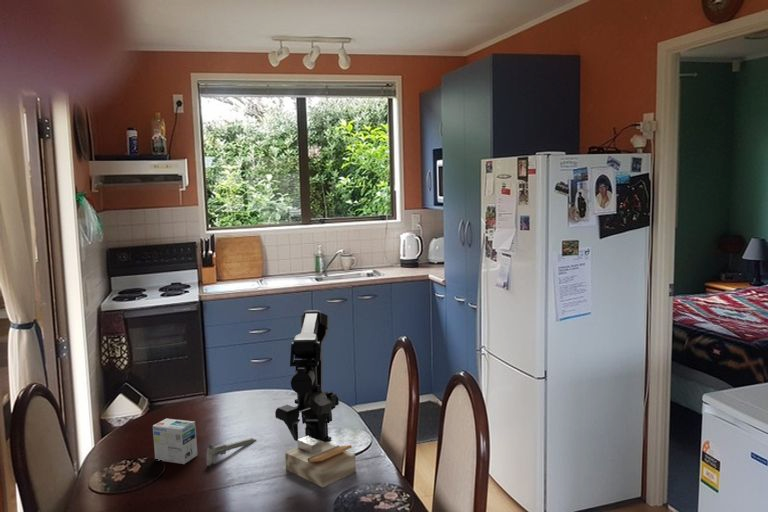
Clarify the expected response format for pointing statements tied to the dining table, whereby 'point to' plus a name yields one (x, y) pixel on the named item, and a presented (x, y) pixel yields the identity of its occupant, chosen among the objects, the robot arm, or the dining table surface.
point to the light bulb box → (175, 440)
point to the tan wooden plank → (328, 453)
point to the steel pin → (309, 445)
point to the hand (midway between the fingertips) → (309, 435)
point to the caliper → (224, 449)
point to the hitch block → (320, 465)
